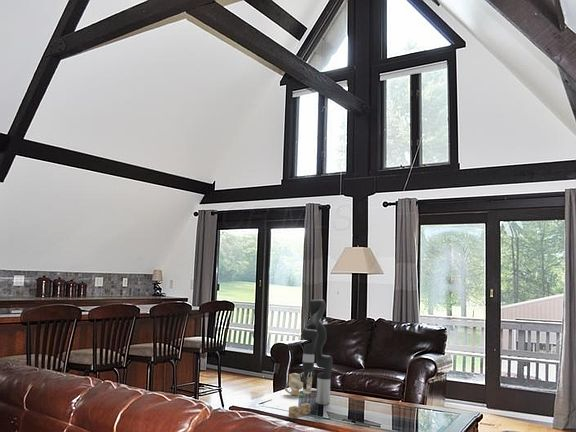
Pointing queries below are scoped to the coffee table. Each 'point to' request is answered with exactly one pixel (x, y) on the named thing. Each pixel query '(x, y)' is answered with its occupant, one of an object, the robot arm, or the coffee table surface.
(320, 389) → the robot arm
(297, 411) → the oak slotted rail
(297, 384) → the birch slotted plate
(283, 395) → the coffee table surface
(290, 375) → the kitten
